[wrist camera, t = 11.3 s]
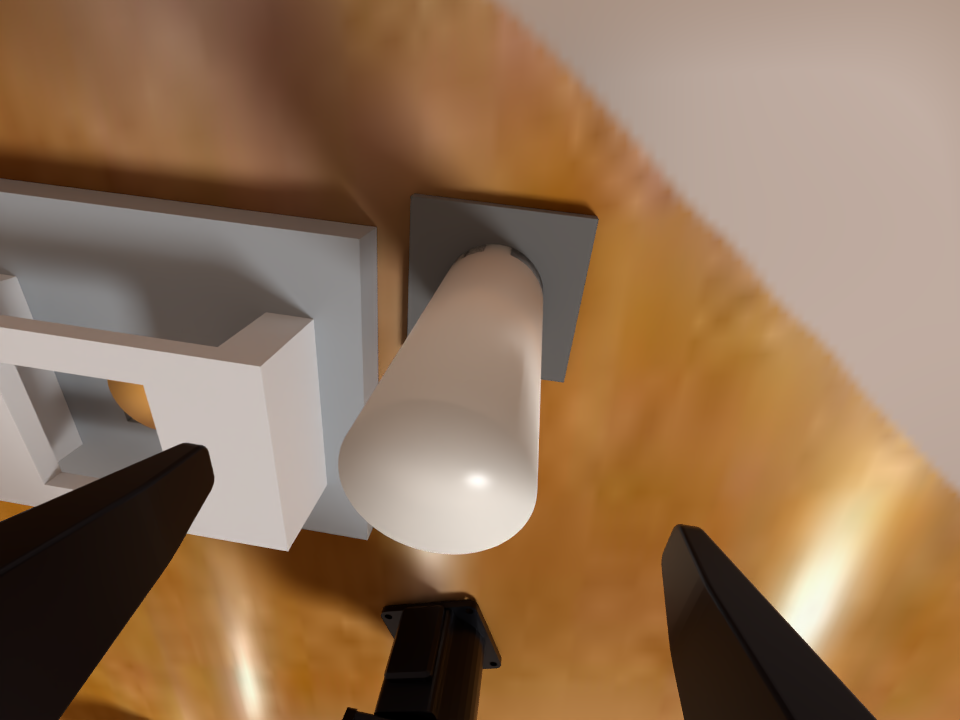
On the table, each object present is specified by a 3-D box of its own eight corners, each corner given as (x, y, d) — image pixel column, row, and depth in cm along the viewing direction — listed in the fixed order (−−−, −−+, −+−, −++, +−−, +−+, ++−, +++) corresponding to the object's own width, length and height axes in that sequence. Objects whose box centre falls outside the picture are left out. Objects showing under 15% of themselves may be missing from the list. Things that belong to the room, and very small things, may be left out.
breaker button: (233, 407, 24) (202, 437, 22) (159, 395, 24) (121, 424, 22) (220, 337, 22) (184, 362, 20) (140, 325, 22) (95, 349, 20)
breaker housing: (379, 511, 27) (338, 611, 21) (67, 458, 28) (-45, 540, 22) (376, 227, 19) (310, 272, 14) (-55, 171, 20) (-268, 193, 15)
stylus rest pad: (563, 375, 21) (563, 382, 20) (410, 353, 21) (406, 359, 21) (596, 215, 18) (598, 219, 17) (414, 193, 18) (410, 195, 18)
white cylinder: (553, 327, 19) (557, 545, 10) (461, 346, 20) (382, 562, 11) (530, 232, 18) (507, 380, 8) (431, 258, 19) (304, 418, 9)
